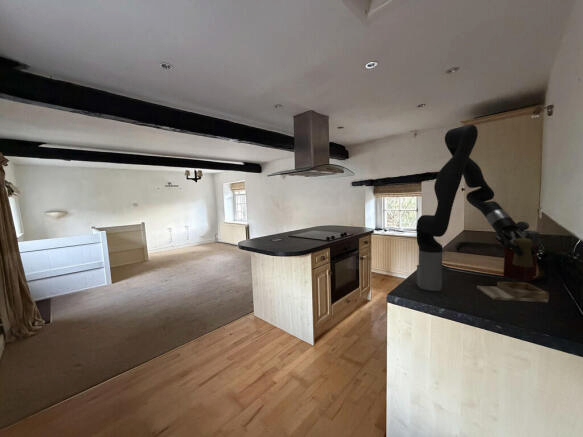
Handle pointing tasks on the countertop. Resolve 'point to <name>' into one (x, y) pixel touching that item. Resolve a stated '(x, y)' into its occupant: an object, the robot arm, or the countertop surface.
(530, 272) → the red coffee grinder
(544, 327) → the countertop surface
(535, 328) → the countertop surface
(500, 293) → the socket board
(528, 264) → the olive yellow waisted cylinder
